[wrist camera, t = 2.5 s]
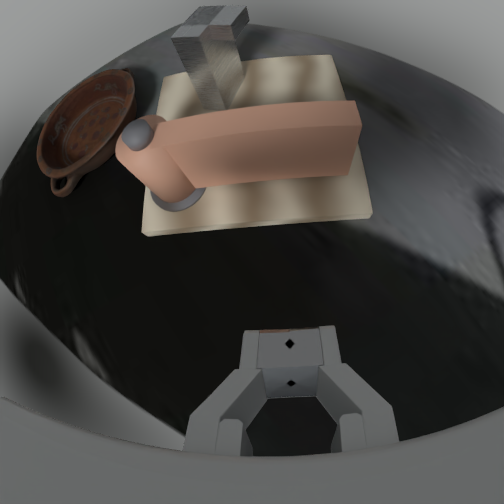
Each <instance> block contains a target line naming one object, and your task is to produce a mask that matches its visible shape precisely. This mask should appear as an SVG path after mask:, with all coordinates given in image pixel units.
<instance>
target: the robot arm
mask: <svg viewBox="0 0 504 504" xmlns="http://www.w3.org/2000/svg"><path fill="white" fill-rule="evenodd" d="M304 396H317V398H318V400H319V401H320V402H321V404H322V405H323V406H324V407H325V409H326V410H327V411H328V413H329V414H330V415H331V416H332V418H333V419H334V420H335V421H336V423H337V424H338V425H337V429H336V432H335V435H334V438H333V441H332V444H331V453H328V454H317V455H303V456H278V457H254V456H253V448H252V446H251V443H250V441H249V438H248V435H247V433H246V428H247V427H248V426H249V424H250V423H251V421H252V420H253V419H254V417H255V416H256V415H257V413H258V412H259V410H260V409H261V408H262V406H263V405H264V403H265V402H266V400H267V398H283V397H304ZM0 504H504V407H502V408H500V409H498V410H495V411H493V412H491V413H488V414H486V415H484V416H481V417H479V418H476V419H474V420H471V421H468V422H465V423H463V424H460V425H457V426H454V427H451V428H448V429H445V430H442V431H439V432H435V433H432V434H428V435H425V436H421V437H417V438H414V439H410V440H405V441H401V442H399V439H398V434H397V429H396V424H395V419H394V415H393V410H392V406H391V405H390V404H389V403H388V402H387V401H385V400H384V399H383V398H382V397H381V396H380V395H379V394H378V393H377V392H376V391H375V390H374V389H373V388H372V387H370V386H369V385H368V384H367V383H366V382H365V381H364V380H363V379H362V378H361V377H360V376H359V375H358V374H357V373H356V372H354V371H353V370H352V369H351V368H350V367H349V366H348V365H347V364H346V363H344V364H341V358H340V352H339V347H338V341H337V336H336V331H335V327H334V326H322V327H309V328H296V329H285V330H249V331H245V332H244V334H243V342H242V351H241V359H240V367H239V369H235V370H234V371H233V372H232V373H231V374H230V375H229V376H228V377H227V378H226V379H225V380H224V381H223V382H222V383H221V385H220V386H219V387H218V388H217V389H216V390H215V391H214V392H213V393H212V394H211V395H210V396H209V397H208V398H207V399H206V400H205V401H204V402H203V403H202V404H201V405H200V406H199V407H198V408H197V409H196V410H195V411H194V412H193V413H192V414H191V415H190V419H189V423H188V428H187V432H186V437H185V442H184V446H183V451H179V450H172V449H166V448H160V447H154V446H149V445H144V444H139V443H135V442H130V441H126V440H122V439H118V438H113V437H110V436H106V435H103V434H99V433H95V432H92V431H89V430H85V429H82V428H79V427H76V426H73V425H70V424H68V423H65V422H62V421H59V420H56V419H54V418H51V417H49V416H46V415H44V414H41V413H39V412H36V411H34V410H32V409H29V408H27V407H25V406H22V405H20V404H18V403H16V402H14V401H12V400H10V399H8V398H5V397H0Z"/></svg>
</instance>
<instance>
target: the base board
mask: <svg viewBox="0 0 504 504" xmlns="http://www.w3.org/2000/svg"><path fill="white" fill-rule="evenodd" d="M241 65H242V69H243V73H244V77H245V79H244V81H243V83H242V84H241V86H240V88H239V90H238V92H237V94H236V95H235V97H234V99H233V101H232V103H231V105H230V107H229V109H228V110H230V109H237V108H245V107H253V106H261V105H271V104H282V103H295V102H313V101H346V98H345V94H344V91H343V88H342V85H341V82H340V79H339V76H338V73H337V70H336V67H335V64H334V61H333V59H332V56H331V55H306V56H288V57H276V58H265V59H256V60H248V61H241ZM211 112H217V111H215V110H208V109H204V108H203V106H202V104H201V102H200V99H199V97H198V95H197V93H196V91H195V89H194V87H193V84H192V82H191V80H190V78H189V76H188V74H187V72H183V73H179V74H175V75H171V76H167V77H164V80H163V84H162V89H161V94H160V98H159V103H158V109H157V114H156V115H158V116H161V117H163V118H164V119H165V120H166V121H170V120H175V119H180V118H184V117H189V116H195V115H200V114H205V113H211ZM372 213H373V212H372V206H371V201H370V195H369V190H368V185H367V180H366V175H365V171H364V166H363V162H362V157H361V153H360V149H359V145H358V143H357V146H356V150H355V153H354V156H353V160H352V163H351V166H350V170H349V173H348V175H339V176H320V177H305V178H291V179H279V180H267V181H257V182H247V183H237V184H228V185H220V186H211V187H204V188H196V189H195V190H194V192H193V193H192V194H191V195H190V196H189V197H187V198H186V199H184V200H182V201H180V202H176V203H168V202H165V201H163V200H161V199H160V198H159V197H158V196H157V195H155V194H154V193H153V192H152V191H151V190H150V189H149V188H148V187H147V186H146V189H145V199H144V210H143V222H142V233H144V234H145V235H147V236H156V235H166V234H176V233H186V232H196V231H207V230H218V229H229V228H241V227H253V226H265V225H278V224H291V223H305V222H319V221H334V220H350V219H367V218H370V216H371V215H372Z"/></svg>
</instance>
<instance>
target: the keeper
mask: <svg viewBox="0 0 504 504" xmlns="http://www.w3.org/2000/svg"><path fill="white" fill-rule="evenodd" d="M248 22H249V16H248V11H247V6H204V7H199V8H198V9H197V10H196V11H195V12H194V13H193V14H192V15H191V16H190V17H189V18H188V19H187V20H186V21H185V22H184V23H183V24H182V25H181V27H180V28H179V29H178V30H177V31H176V32H175V33H174V34H173V36H172V37H171V40H172V42H173V44H174V46H175V48H176V50H177V52H178V54H179V57H180V59H181V61H182V63H183V65H184V67H185V69H186V71H187V74H188V76H189V78H190V80H191V82H192V84H193V87H194V89H195V91H196V93H197V95H198V97H199V99H200V102H201V104H202V106H203V108H204V109H208V110H215V111H223V110H228V109H229V107H230V105H231V103H232V101H233V99H234V97H235V95H236V94H237V92H238V90H239V88H240V86H241V84H242V83H243V81H244V79H245V77H244V73H243V69H242V65H241V61H240V57H239V53H238V50H237V46H236V42H235V40H236V38H237V37H238V35H239V34H240V33H241V31H242V30H243V29H244V27H245V26H246V25H247V23H248Z"/></svg>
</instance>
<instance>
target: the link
mask: <svg viewBox="0 0 504 504" xmlns="http://www.w3.org/2000/svg"><path fill="white" fill-rule="evenodd" d="M361 129H362V122H361V119H360V116H359V112H358V109H357V106H356V103H355V101H313V102H295V103H282V104H271V105H261V106H253V107H245V108H237V109H230V110H223V111H217V112H211V113H205V114H200V115H195V116H189V117H184V118H180V119H175V120H170V121H166V120H165V119H164V118H163V117H161V116H158V115H147V116H143V117H141V118H139V119H137V120H134V121H132V122H130V123H129V124H128V125H127V126H126V127H125V128H124V130H123V132H122V133H121V135H120V136H119V138H118V141H117V143H116V148H115V152H116V157H117V159H118V160H119V161H120V162H121V163H122V164H123V165H124V166H125V167H126V168H127V169H128V170H129V171H130V172H131V173H133V174H134V175H135V176H136V177H137V178H138V179H139V180H140V181H141V182H142V183H143V184H145V185H146V186H147V187H148V188H149V189H150V190H151V191H152V192H153V193H154V194H155V195H157V196H158V197H159V198H160V199H161V200H163V201H165V202H168V203H176V202H180V201H182V200H184V199H186V198H187V197H189V196H190V195H191V194H192V193H193V192H194V190H195V189H196V188H204V187H211V186H220V185H228V184H237V183H247V182H257V181H267V180H279V179H291V178H305V177H320V176H339V175H348V173H349V170H350V166H351V163H352V160H353V156H354V153H355V150H356V146H357V143H358V139H359V136H360V132H361Z"/></svg>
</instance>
